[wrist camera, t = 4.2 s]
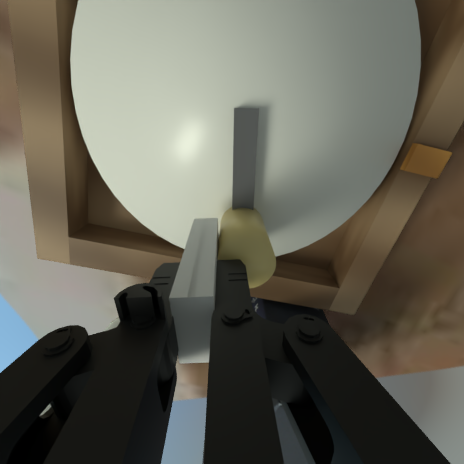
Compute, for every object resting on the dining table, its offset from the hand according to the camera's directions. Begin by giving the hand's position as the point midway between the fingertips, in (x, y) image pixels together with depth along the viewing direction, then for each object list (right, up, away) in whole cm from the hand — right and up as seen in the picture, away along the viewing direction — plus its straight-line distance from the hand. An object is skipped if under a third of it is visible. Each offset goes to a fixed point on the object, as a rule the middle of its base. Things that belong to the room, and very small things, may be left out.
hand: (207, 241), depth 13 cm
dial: (+2, +7, +1) cm, 7 cm away
